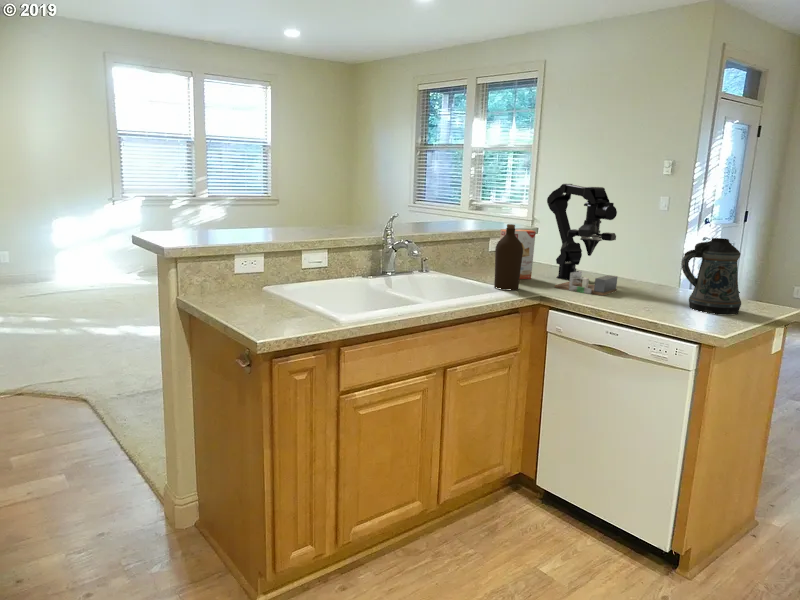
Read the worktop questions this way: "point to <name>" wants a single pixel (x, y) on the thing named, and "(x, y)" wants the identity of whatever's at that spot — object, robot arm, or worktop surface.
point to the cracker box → (525, 250)
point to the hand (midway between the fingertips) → (589, 255)
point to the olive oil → (508, 260)
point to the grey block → (576, 277)
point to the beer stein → (714, 277)
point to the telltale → (585, 282)
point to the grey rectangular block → (605, 283)
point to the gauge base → (581, 288)
